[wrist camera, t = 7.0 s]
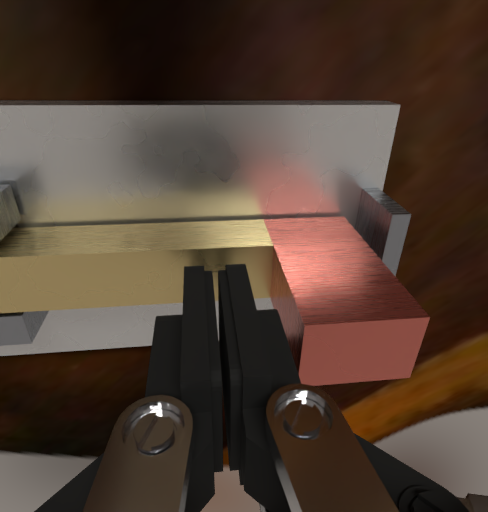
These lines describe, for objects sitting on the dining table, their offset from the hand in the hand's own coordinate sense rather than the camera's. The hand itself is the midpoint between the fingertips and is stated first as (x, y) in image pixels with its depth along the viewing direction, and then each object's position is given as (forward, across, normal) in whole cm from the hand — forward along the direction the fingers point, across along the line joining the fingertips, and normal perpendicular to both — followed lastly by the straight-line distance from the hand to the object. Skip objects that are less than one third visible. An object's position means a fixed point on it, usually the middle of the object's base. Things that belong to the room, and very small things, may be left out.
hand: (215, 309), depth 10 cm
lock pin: (+4, +2, 0) cm, 4 cm away
